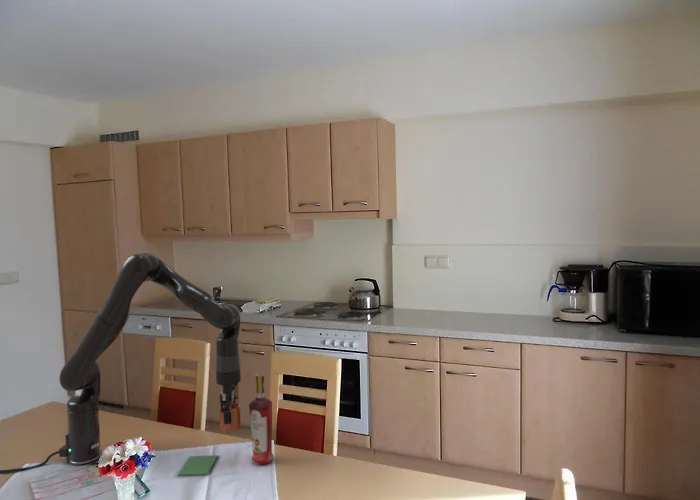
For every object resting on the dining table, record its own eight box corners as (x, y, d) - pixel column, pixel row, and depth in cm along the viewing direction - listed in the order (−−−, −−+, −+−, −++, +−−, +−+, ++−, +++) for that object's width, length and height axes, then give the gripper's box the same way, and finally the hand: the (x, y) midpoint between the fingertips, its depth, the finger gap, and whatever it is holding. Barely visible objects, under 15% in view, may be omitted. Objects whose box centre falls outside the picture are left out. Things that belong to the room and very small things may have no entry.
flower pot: (218, 431, 155) (217, 409, 155) (223, 424, 162) (222, 402, 161) (238, 431, 155) (237, 409, 155) (242, 423, 162) (241, 402, 161)
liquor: (246, 464, 158) (243, 377, 157) (258, 454, 165) (255, 371, 163) (267, 468, 155) (263, 379, 154) (278, 457, 162) (275, 373, 161)
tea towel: (178, 476, 152) (178, 474, 152) (190, 458, 164) (190, 456, 164) (207, 475, 152) (207, 473, 152) (217, 457, 164) (217, 455, 164)
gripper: (221, 362, 165) (223, 411, 165) (210, 374, 150) (212, 429, 151) (244, 361, 165) (246, 410, 166) (235, 374, 150) (237, 428, 151)
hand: (230, 419), depth 158 cm, fingers closed on flower pot, 6 cm apart
